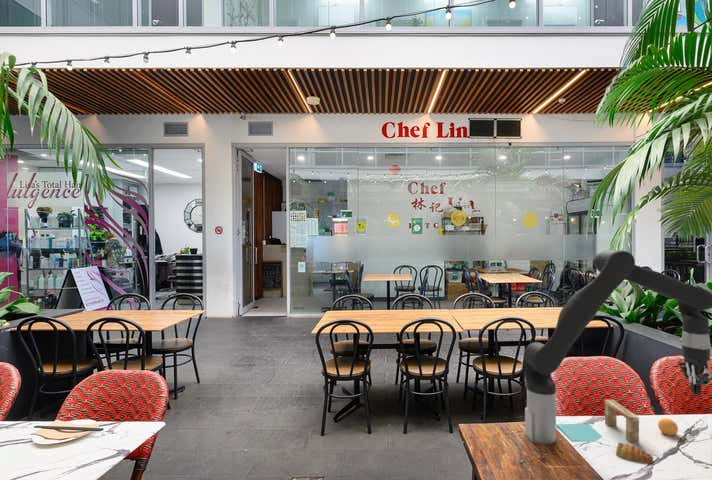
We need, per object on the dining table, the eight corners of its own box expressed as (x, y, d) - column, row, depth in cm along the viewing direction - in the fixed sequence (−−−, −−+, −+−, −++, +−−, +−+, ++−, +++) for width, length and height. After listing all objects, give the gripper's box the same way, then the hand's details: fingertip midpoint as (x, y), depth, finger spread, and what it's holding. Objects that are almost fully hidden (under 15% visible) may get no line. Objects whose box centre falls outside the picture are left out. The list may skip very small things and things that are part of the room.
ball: (665, 438, 136) (665, 422, 135) (654, 430, 141) (654, 415, 141) (682, 438, 135) (682, 423, 135) (670, 430, 141) (670, 415, 141)
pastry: (654, 459, 123) (653, 447, 123) (651, 469, 118) (650, 456, 118) (618, 450, 129) (618, 438, 129) (614, 458, 124) (614, 446, 124)
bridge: (629, 444, 132) (629, 417, 132) (605, 423, 146) (604, 399, 146) (639, 444, 132) (638, 417, 132) (613, 424, 146) (613, 399, 146)
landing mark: (571, 441, 134) (571, 440, 134) (556, 424, 146) (556, 424, 146) (607, 442, 134) (607, 441, 134) (589, 425, 146) (589, 424, 146)
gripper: (670, 340, 144) (670, 386, 144) (699, 350, 131) (700, 401, 131) (691, 340, 144) (692, 386, 144) (723, 350, 131) (723, 402, 131)
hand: (695, 393), depth 137 cm, fingers closed
